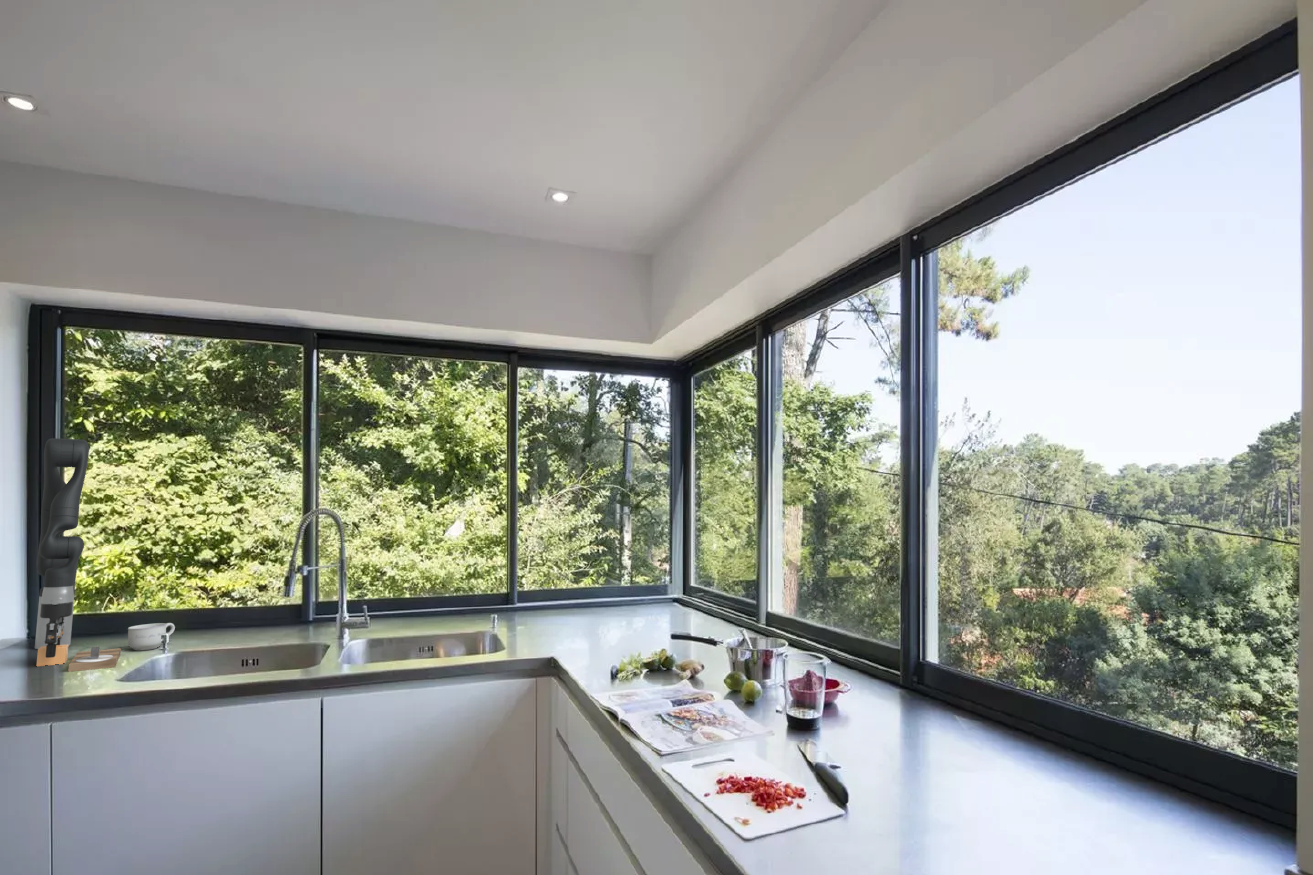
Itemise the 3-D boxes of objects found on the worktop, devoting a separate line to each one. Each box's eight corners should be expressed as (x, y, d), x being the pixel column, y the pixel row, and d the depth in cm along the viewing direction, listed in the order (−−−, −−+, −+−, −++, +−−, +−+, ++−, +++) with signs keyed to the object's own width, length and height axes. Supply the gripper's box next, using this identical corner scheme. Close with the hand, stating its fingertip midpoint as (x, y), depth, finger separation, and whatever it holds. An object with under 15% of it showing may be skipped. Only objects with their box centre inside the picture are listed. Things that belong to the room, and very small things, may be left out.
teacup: (132, 653, 231) (134, 628, 232) (121, 649, 237) (123, 625, 238) (180, 647, 242) (182, 623, 243) (168, 642, 249) (170, 619, 249)
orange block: (36, 666, 212) (37, 649, 213) (39, 662, 217) (40, 646, 217) (64, 663, 216) (66, 647, 216) (67, 660, 220) (68, 644, 221)
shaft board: (77, 658, 223) (78, 640, 224) (120, 654, 230) (121, 637, 230) (68, 671, 207) (69, 652, 207) (115, 667, 213) (116, 648, 213)
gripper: (45, 599, 222) (40, 652, 220) (37, 604, 210) (32, 660, 208) (75, 597, 226) (71, 649, 224) (69, 602, 214) (65, 657, 212)
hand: (52, 654), depth 216 cm, fingers open, 8 cm apart
